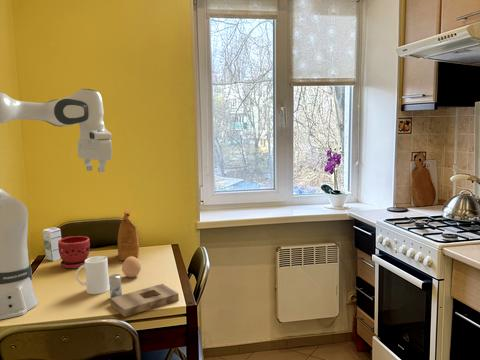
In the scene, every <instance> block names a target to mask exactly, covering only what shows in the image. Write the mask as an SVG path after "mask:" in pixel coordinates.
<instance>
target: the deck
mask: <svg viewBox="0 0 480 360" xmlns="http://www.w3.org/2000/svg"><path fill="white" fill-rule="evenodd" d="M179 298H180V297H179V293H178V292H177V291H176V290H174V289H172V288H170V287H169V286H166V285H165V284H164V283H161V284H157V285H153V286H149V287H145V288H142V289H139V290H136V291H135V290H134V291H132V292H128V293H123V294H122V295H120V296H117V297H113V298H111V297H110V299H109V300H110V306H111V307H113V309H114V310H116V311H117V312H118V313H119V314H120V315H121V316H122V317H124V318H126V317H129V316H133V315H136V314H139V313H142V312H145V311H148V310H153V309H155V308H158V307H162V306H165V305H167V304H171V303H174V302H178V301H179Z"/></svg>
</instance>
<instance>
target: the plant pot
mask: <svg viewBox="0 0 480 360" xmlns="http://www.w3.org/2000/svg"><path fill="white" fill-rule="evenodd" d="M90 247H91V243H90V238H89V237H88V236H85V235H84V236H83V235H77V236H75V235H74V236H67V237H63V238H62V237H61V239H60V240H59V241H58V248H59V254H60V257H61V259H60V260H62V261H60V265H61V267H63V268H65V269H66V268H67V269H78V268H79V267H80V266H82V265H84V264H85V260H86V259H87V258H89V257H88V256H89V254H90V249H91V248H90Z"/></svg>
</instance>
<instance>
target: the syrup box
mask: <svg viewBox="0 0 480 360" xmlns="http://www.w3.org/2000/svg"><path fill="white" fill-rule="evenodd" d="M42 234H43V235H42V237H43V245H44V246H43V247H44V255H45V260H47V261H50V262H56V261H59V260H62V259H61V257H60V254H59V248H58V241H59V240H60V239H62V232H61V228H59V227H58V228H57V227H55V226H53V227H48V228H44V229H42Z"/></svg>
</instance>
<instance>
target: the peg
mask: <svg viewBox="0 0 480 360" xmlns="http://www.w3.org/2000/svg"><path fill="white" fill-rule="evenodd" d="M109 285H110V289H109V295H110V298H113V297H117V296H120V295H123V291H122V276H121V275H120V274H116V273H115V274H110V275H109Z"/></svg>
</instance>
